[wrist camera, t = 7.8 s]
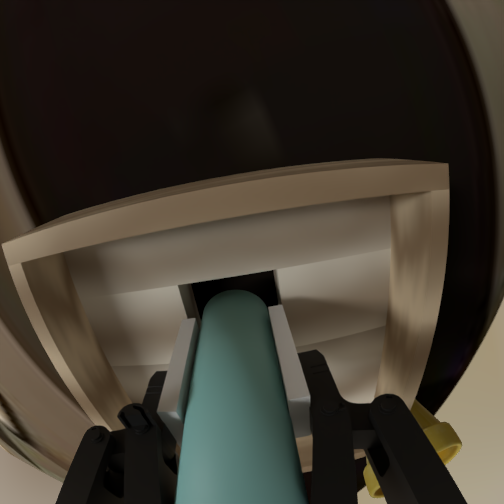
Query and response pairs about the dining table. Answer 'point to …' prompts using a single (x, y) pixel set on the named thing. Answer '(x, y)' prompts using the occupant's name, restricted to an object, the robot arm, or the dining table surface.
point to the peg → (238, 412)
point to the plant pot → (437, 434)
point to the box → (240, 263)
